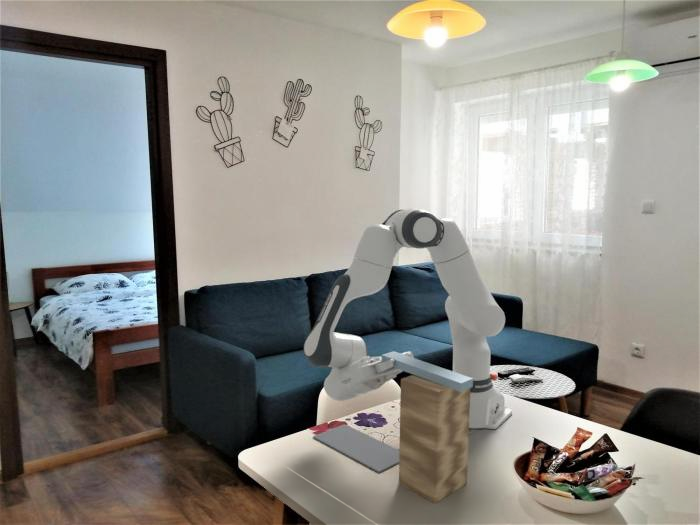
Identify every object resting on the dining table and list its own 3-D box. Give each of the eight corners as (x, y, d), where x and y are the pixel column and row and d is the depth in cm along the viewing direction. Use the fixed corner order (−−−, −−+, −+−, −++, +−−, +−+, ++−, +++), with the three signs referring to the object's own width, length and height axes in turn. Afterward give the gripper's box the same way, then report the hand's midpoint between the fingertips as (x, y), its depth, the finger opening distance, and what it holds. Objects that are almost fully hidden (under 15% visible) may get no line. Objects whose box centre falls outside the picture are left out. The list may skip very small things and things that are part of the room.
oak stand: (430, 466, 137) (433, 367, 134) (466, 483, 129) (470, 379, 126) (398, 483, 129) (400, 378, 126) (435, 503, 121) (438, 392, 118)
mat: (344, 425, 161) (344, 424, 161) (411, 457, 142) (411, 455, 142) (313, 437, 153) (313, 436, 153) (379, 473, 134) (379, 471, 134)
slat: (393, 358, 138) (393, 351, 138) (472, 386, 121) (473, 378, 121) (381, 362, 135) (381, 354, 135) (460, 392, 118) (461, 383, 118)
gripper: (333, 372, 137) (367, 356, 127) (389, 355, 150) (423, 339, 141) (342, 396, 135) (376, 382, 125) (397, 376, 149) (432, 362, 139)
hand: (401, 359), depth 133 cm, fingers closed on slat, 4 cm apart
